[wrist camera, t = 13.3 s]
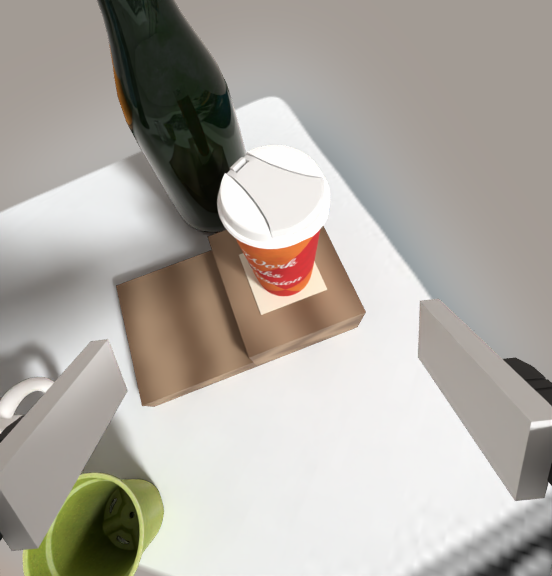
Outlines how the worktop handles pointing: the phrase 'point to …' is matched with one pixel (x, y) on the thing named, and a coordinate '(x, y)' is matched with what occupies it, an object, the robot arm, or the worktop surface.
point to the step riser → (227, 317)
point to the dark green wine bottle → (174, 103)
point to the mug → (20, 398)
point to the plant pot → (98, 529)
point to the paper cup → (276, 214)
